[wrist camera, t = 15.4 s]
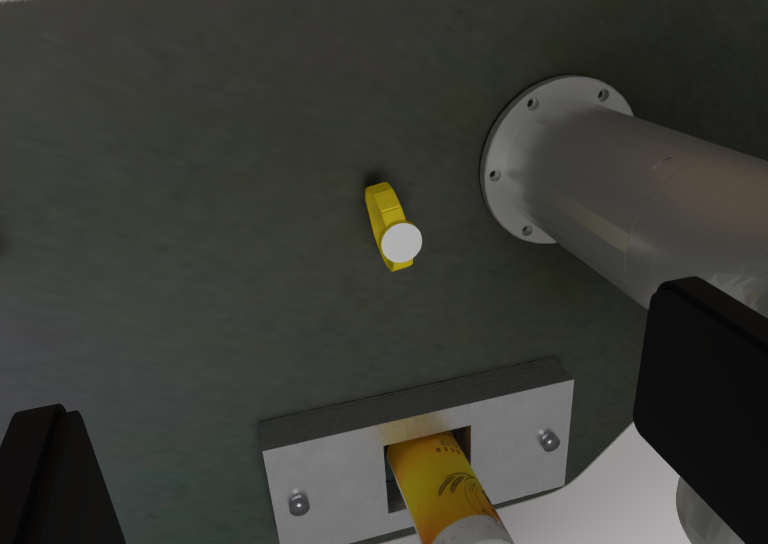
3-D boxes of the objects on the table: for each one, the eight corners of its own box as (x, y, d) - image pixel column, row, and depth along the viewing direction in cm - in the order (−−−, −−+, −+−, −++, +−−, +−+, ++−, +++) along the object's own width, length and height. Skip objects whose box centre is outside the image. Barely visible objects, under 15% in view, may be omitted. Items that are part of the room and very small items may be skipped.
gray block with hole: (553, 356, 56) (577, 383, 52) (545, 459, 61) (567, 489, 57) (258, 422, 50) (263, 456, 47) (278, 528, 55) (284, 567, 52)
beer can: (461, 440, 57) (541, 580, 44) (407, 479, 57) (471, 629, 44) (427, 401, 54) (503, 538, 41) (371, 442, 54) (427, 592, 41)
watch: (350, 181, 44) (370, 203, 39) (387, 170, 44) (412, 190, 39) (369, 258, 46) (391, 288, 41) (405, 247, 47) (430, 275, 42)
